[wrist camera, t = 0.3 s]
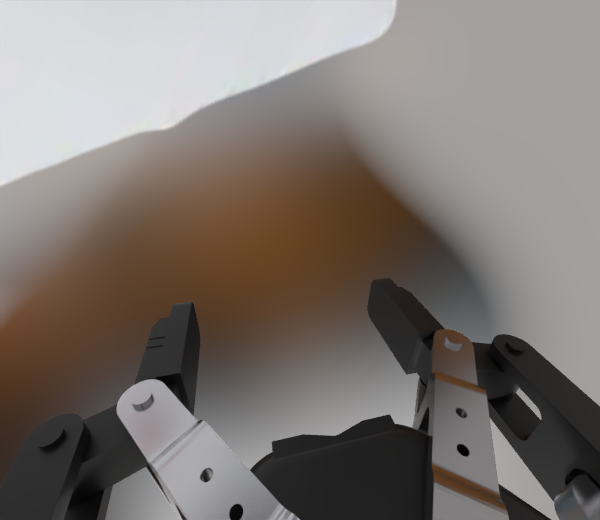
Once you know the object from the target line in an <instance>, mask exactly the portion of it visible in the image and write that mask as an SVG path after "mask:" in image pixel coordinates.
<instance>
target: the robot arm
mask: <svg viewBox="0 0 600 520" xmlns="http://www.w3.org/2000/svg"><path fill="white" fill-rule="evenodd" d="M367 306H368V307H367V310H368V314H369V317H370V319H371V321H372V322H373V324H374V325H375V327H376V328H377V330H378V331H379V333H380V334H381V336H382V338H383V339H384V341H385V342H386V344H387V345H388V347H389V348H390V350H391V351H392V353H393V354H394V356H395V357H396V359H397V361H398V362H399V364H400V365H401V367H402V368H403V370H404V371H405V373H406V374H412V373H418V375H419V376H420V377H419V380H418V386H417V397H416V406H415V415H414V422H413V427H412V428H411V427H407V426H404V425H399V424H394V422H393V420H392V418H391V416H390V415H386V416H381V417H377V418H373V419H368V420H364V421H361V422H360V423H358V424H356V425H355V426H353V427H351V428H349V429H348V430H346V431H344V432H342V433H341V434H339V435H336V436H323V435H299V436H295V437H291V438H287V439H282V440H277V441H273V442H272V451H273V452H272V453H270V454H268V455H266V456H265V457H264V458H262V459H261V460H260V461H259V462H257V463H256V464H255V465H254V466H253V467H252V468H251V470H249V469H248V468H247V467H246V466H245V464H243V462H242V461H241V460H240V459H239V458H238V457H237V456H236V455H235V453H234V452H233V451H232V450H231V449H230V448H229V447H228V446H227V445H226V444H225V442H224V441H223V440H222V439H221V438H220V437H219V436H218V435H217V434H216V433H215V432H214V430H213V429H212V428H211V427H210V426H209V425H208V424H207V423H206V422H205V421H203V420H200V421H197V420H196V419H195V418H194V417H193V416H194V405H195V394H196V384H197V374H198V362H199V353H200V330H199V325H198V321H197V316H196V312H195V307H194V304H193V302H187V303H179V304H173V306H172V310H171V315H170V317H167V318H161V319H159V321H158V322H157V323H156V324H155V325H154V326H153V328H152V329H151V333H150V336H149V341H148V342H147V346H146V350H145V352H144V356H143V359H142V362H141V365H140V368H139V372H138V375H137V378H136V382H135V384H134V385H133V386H132V387H131V388H129V389H128V390H127V391H126V392H125V393H124V394H123V395H122V396H121V398H120V400H119V402H118V404H116V405H114V406H113V407H111V408H109V409H107V410H105V411H103V412H100V413H98V414H96V415H94V416H91V417H89V418H87V419H84V420H82V418H81V417H80V416H78V415H76V414H63V415H60V416H57V417H54V418H52V419H50V420H48V421H46V422H45V423H43V424H42V425H40V426H39V427H38V428H37V429H35V430H34V431H33V432H32V433H31V434H30V435H29V436H28V437H27V439H26V440H25V441H24V443H23V444H22V446H21V448H20V450H19V452H18V454H17V456H16V458H15V460H14V462H13V464H12V466H11V468H10V470H9V471H8V473H7V475H6V477H5V479H4V481H3V483H2V485H1V487H0V520H105V517H106V512H107V508H108V504H109V499H110V495H111V490H112V486H113V484H115V483H117V482H119V481H121V480H123V479H124V478H126V477H128V476H130V475H132V474H133V473H135V472H137V471H139V470H141V469H142V468H144V467H146V469H147V470H148V472H149V473H150V475H151V476H152V478H153V480H154V481H155V483H156V484H157V486H158V487H159V489H160V491H161V492H162V494H163V495H164V497H165V498H166V500H167V501H168V503H169V505H170V506H171V508H172V509H173V511H174V513H175V514H176V516H177V518H178V519H179V520H551V519H549V518H548V517H546V516H545V515H543V514H542V513H541V512H539V511H537V510H536V509H534V508H533V507H532V506H530V505H529V504H527V503H526V502H524V501H523V500H522V499H520V498H519V497H517V496H516V495H514V494H513V493H511V492H510V491H508V490H507V489H505V488H504V487H503V486H501V485H500V484H498V479H497V471H496V464H495V455H494V448H493V441H492V433H491V425H490V418H491V419H492V421H493V422H494V423H495V425H496V426H497V427H498V429H499V430H500V431H501V432H502V434H503V435H504V436H505V438H506V439H507V440H508V442H509V443H510V444H511V446H512V447H513V448H514V450H515V451H516V452H517V453H518V455H519V456H520V458H521V459H522V460H523V462H524V463H525V464H526V466H527V467H528V468H529V470H530V471H531V472H532V474H533V475H534V476H535V477H536V479H537V480H538V481H539V483H540V484H541V485H542V487H543V488H544V489H545V491H546V492H547V493H548V494H549V496H550V497H551V499H552V500H553V501H554V506H555V511H556V513H557V516H558V518H559V520H600V406H599V405H597V404H596V403H595V402H594V401H593V400H592V399H591V398H589V397H588V396H587V395H586V394H585V393H584V392H583V391H582V390H580V389H579V388H578V387H577V386H576V385H575V384H573V383H572V382H571V381H570V380H569V379H568V378H567V377H566V376H565V375H563V374H562V373H561V372H560V371H559V370H558V369H557V368H555V367H554V366H553V365H552V364H551V363H550V362H549V361H547V360H546V359H545V358H544V357H543V356H542V355H541V354H539V353H538V352H537V351H536V350H535V349H534V348H533V347H532V346H530V345H529V344H528V343H526V342H525V341H523V340H521V339H519V338H517V337H514V336H511V335H505V334H503V335H497V336H496V337H495V338H494V339H493V341H492V343H491V344H485V343H475V342H471V341H470V340H469V339H468V338H467V337H466V336H464V335H463V334H461V333H459V332H457V331H454V330H450V329H444V327H442V325H441V324H440V323H439V322H438V321H437V320H436V319H435V318H434V317H433V316H432V315H431V314H430V313H429V311H428V310H427V309H425V308H424V306H423V305H422V304H421V303H420V302H418V300H417V299H416V298H415V297H414V296H413V294H412V293H410V292H409V291H407V290H405V289H404V288H402V287H398V286H397V285H396V284H395V283H394V282H393V281H392V280H391V279H390V278H383V279H376V280H373V281H372V283H371V287H370V293H369V300H368V305H367ZM518 388H521V390H522V391H523V392H524V393H525V394H526V395H527V396H528V397H529V398H530V399H531V400H532V402H533V403H534V404H535V405H536V406H537V407H538V409H539V411H540V413H541V417H542V420H540V419H539V418H538V417H537V416H536V415H535V413H534V412H533V411H532V410H531V409H530V408H529V407H528V406H527V405H526V404H525V402H524V401H523V400H522V399H521V398H520V397H519V396H518V395H517V394H516V392H517V390H518Z"/></svg>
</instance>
